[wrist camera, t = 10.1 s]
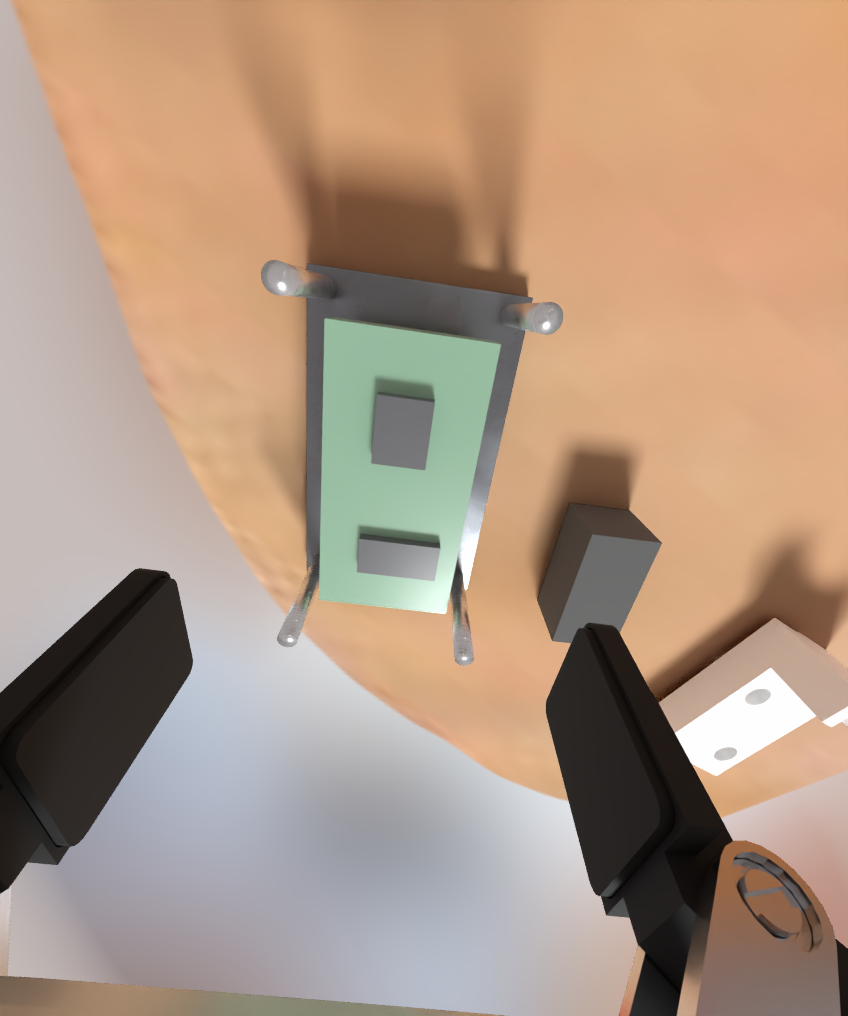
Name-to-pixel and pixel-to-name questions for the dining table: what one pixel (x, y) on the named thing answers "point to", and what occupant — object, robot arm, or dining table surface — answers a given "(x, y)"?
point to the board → (398, 460)
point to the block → (595, 569)
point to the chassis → (417, 310)
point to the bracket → (756, 697)
